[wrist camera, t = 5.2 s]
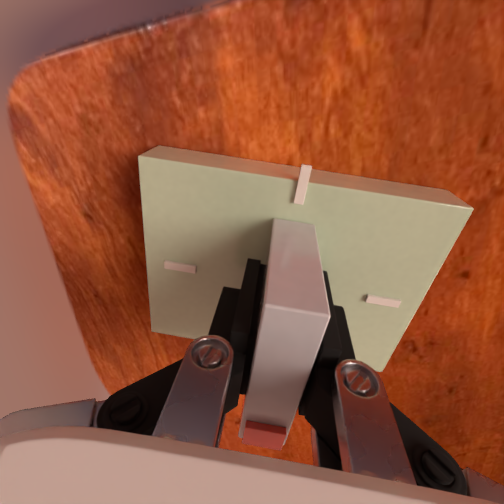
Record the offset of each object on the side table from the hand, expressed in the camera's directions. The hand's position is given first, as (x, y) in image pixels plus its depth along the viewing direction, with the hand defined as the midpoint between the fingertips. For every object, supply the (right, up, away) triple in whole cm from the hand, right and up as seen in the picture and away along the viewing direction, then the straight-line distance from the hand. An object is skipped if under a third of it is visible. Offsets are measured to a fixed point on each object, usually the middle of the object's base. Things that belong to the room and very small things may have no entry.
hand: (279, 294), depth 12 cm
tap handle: (0, 0, +1) cm, 1 cm away
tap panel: (0, +1, +2) cm, 3 cm away
